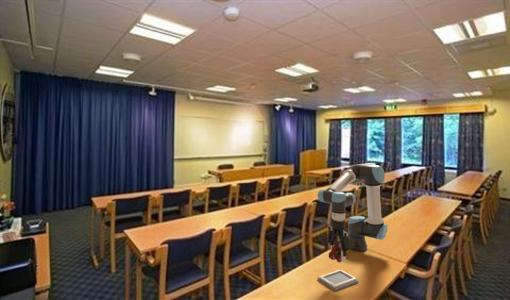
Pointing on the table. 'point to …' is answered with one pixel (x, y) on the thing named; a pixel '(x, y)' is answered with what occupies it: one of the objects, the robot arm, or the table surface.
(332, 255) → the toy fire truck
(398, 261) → the table surface
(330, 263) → the table surface
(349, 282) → the base board
